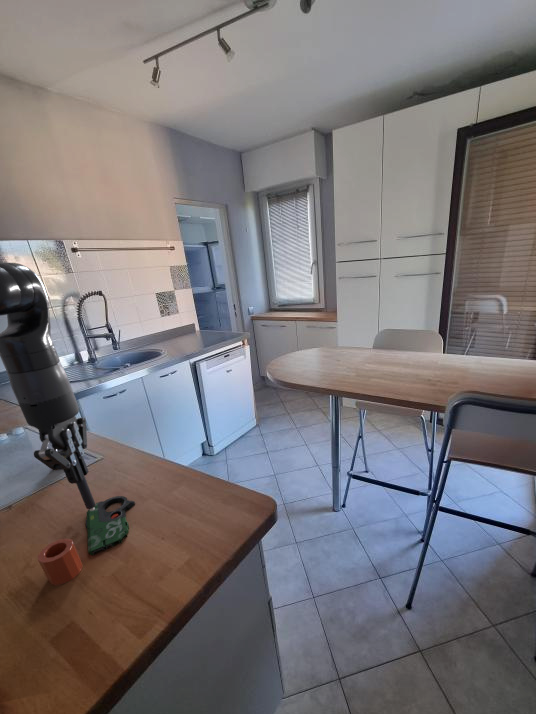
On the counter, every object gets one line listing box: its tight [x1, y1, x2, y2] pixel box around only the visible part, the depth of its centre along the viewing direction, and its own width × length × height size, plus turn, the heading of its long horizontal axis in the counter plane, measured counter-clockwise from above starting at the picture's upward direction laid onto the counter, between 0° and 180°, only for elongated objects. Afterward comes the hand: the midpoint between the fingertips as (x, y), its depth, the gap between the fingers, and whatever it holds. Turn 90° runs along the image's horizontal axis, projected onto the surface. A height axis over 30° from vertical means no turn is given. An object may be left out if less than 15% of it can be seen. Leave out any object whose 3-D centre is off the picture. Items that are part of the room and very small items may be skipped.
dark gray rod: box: [66, 453, 96, 511], centre depth 63 cm, size 2×2×12 cm
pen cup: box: [37, 537, 83, 586], centre depth 60 cm, size 5×5×6 cm
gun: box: [85, 495, 136, 556], centre depth 72 cm, size 16×1×10 cm
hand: (79, 478), depth 62 cm, fingers closed on dark gray rod, 1 cm apart
